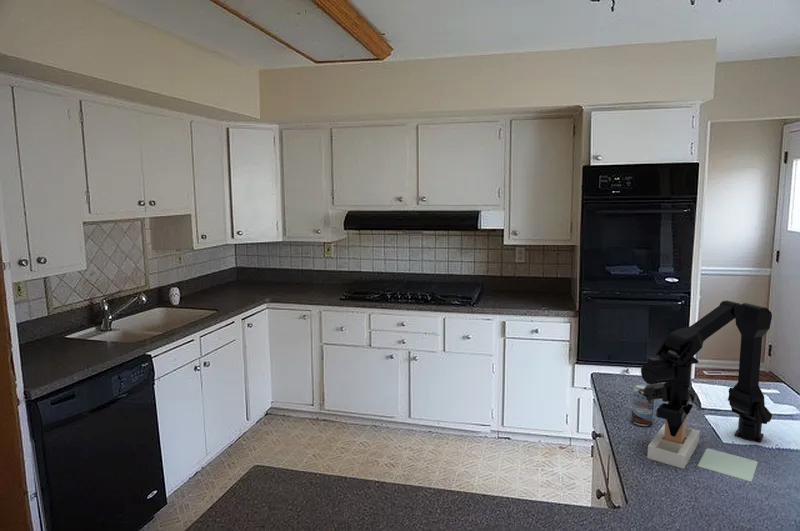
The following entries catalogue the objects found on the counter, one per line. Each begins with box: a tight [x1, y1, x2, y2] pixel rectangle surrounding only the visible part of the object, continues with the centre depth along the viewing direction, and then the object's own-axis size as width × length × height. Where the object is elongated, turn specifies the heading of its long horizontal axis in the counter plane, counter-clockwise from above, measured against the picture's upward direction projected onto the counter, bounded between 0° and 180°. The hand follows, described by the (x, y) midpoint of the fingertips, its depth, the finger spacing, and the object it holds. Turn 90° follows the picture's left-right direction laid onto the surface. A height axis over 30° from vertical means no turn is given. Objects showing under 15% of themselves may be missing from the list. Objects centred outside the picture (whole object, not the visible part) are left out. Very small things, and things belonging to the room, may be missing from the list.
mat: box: [697, 447, 759, 483], centre depth 142 cm, size 12×12×1 cm
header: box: [646, 423, 701, 469], centre depth 150 cm, size 18×9×4 cm, turn 140°
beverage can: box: [630, 384, 655, 427], centre depth 166 cm, size 6×7×12 cm
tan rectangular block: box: [664, 414, 688, 444], centre depth 149 cm, size 5×5×10 cm
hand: (675, 432), depth 149 cm, fingers closed on tan rectangular block, 4 cm apart
